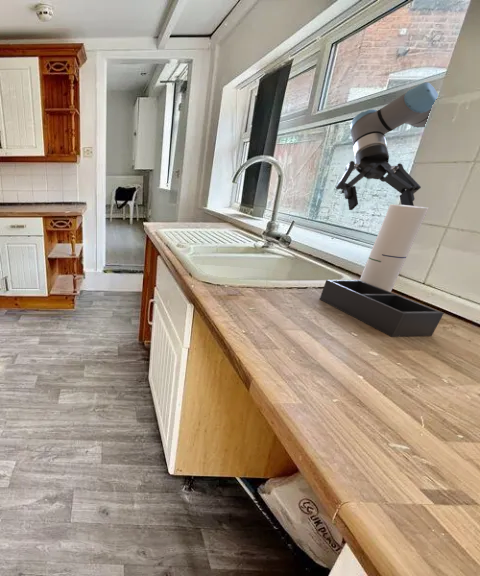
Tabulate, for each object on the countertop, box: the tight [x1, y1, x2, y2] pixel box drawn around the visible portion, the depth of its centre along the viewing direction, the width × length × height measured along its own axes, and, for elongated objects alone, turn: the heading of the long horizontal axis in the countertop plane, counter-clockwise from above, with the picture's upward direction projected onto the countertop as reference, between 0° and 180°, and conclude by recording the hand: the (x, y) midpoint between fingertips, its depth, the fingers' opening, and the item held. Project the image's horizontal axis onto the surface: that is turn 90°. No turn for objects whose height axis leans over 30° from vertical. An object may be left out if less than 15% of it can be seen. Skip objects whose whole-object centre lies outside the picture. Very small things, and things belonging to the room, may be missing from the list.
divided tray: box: [319, 279, 445, 338], centre depth 73 cm, size 10×19×6 cm, turn 7°
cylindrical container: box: [359, 203, 430, 292], centre depth 81 cm, size 7×7×25 cm
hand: (380, 209), depth 87 cm, fingers open, 13 cm apart
